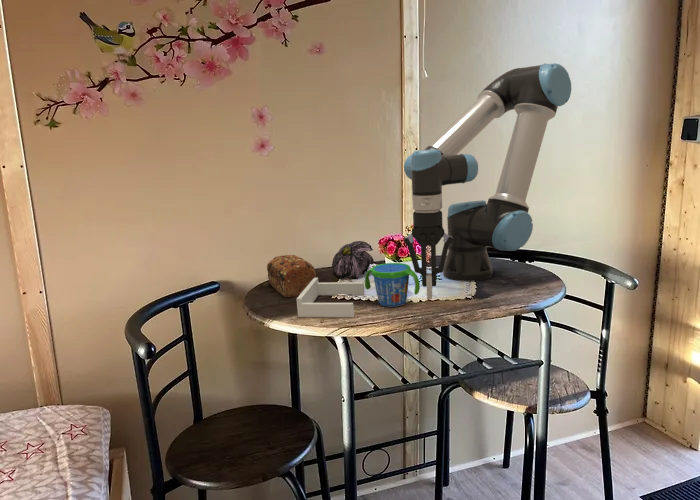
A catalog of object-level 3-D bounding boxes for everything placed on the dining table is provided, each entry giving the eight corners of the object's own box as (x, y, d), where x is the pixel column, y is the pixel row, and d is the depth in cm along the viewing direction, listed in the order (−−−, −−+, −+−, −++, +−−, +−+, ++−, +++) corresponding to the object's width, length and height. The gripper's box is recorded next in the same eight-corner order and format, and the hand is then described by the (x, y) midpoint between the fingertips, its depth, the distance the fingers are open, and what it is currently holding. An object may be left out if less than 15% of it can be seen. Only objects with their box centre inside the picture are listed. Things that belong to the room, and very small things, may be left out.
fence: (364, 293, 158) (363, 277, 157) (353, 317, 139) (352, 298, 138) (315, 294, 161) (314, 277, 160) (298, 317, 142) (296, 298, 141)
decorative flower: (317, 247, 178) (354, 228, 184) (323, 275, 185) (358, 255, 191) (343, 266, 168) (381, 245, 174) (348, 295, 174) (384, 273, 181)
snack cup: (357, 304, 149) (355, 268, 147) (379, 294, 157) (377, 260, 155) (407, 313, 140) (405, 275, 138) (427, 302, 148) (426, 265, 146)
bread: (317, 293, 162) (315, 261, 159) (282, 299, 158) (279, 266, 156) (299, 279, 179) (296, 249, 176) (267, 284, 175) (264, 253, 173)
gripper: (401, 213, 139) (404, 302, 144) (453, 212, 136) (454, 302, 142) (403, 209, 146) (406, 293, 151) (452, 207, 144) (454, 293, 149)
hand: (429, 297), depth 146 cm, fingers closed
